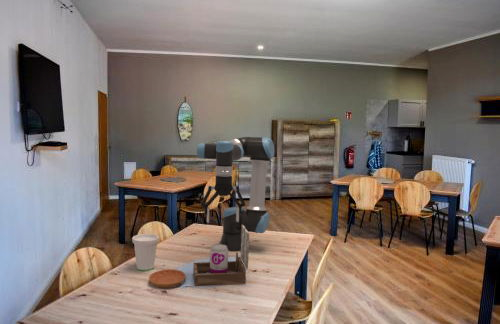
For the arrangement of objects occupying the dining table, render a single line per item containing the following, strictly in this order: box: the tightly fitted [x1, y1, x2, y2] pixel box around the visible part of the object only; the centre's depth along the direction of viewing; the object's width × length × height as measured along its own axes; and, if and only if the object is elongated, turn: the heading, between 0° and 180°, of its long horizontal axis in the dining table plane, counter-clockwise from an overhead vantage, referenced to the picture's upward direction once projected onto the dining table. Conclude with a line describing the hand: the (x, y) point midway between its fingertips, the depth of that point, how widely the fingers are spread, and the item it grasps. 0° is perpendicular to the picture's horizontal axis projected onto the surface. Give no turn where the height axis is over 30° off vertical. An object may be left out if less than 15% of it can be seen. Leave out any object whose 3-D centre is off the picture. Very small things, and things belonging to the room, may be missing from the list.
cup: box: [131, 233, 160, 272], centre depth 182 cm, size 12×12×15 cm
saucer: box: [148, 268, 187, 289], centre depth 167 cm, size 16×16×3 cm
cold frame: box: [192, 225, 250, 287], centre depth 172 cm, size 15×23×23 cm, turn 101°
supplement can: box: [209, 243, 229, 274], centre depth 172 cm, size 8×8×15 cm
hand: (222, 221), depth 171 cm, fingers open, 13 cm apart
